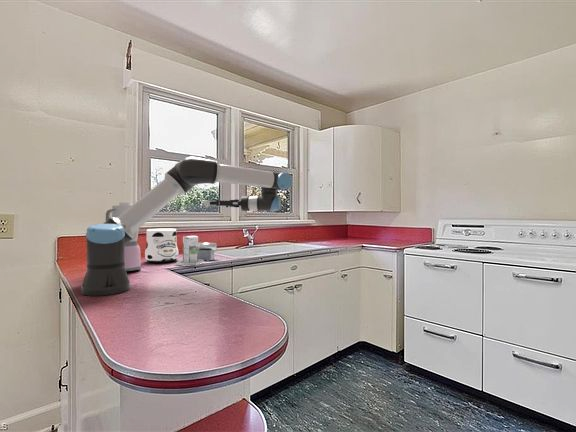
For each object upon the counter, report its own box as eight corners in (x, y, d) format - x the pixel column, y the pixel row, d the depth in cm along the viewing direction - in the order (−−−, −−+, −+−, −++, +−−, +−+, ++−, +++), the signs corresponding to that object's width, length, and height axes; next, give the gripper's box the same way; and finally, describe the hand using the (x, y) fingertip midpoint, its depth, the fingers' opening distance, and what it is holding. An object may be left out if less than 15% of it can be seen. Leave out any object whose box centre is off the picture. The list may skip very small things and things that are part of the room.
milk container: (168, 264, 166) (168, 230, 166) (138, 264, 169) (137, 230, 169) (184, 259, 184) (183, 228, 183) (156, 259, 186) (156, 228, 186)
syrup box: (192, 262, 172) (191, 235, 172) (198, 263, 169) (198, 236, 168) (182, 263, 168) (182, 236, 168) (189, 264, 164) (188, 236, 164)
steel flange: (196, 266, 162) (196, 263, 162) (174, 265, 163) (174, 262, 163) (205, 262, 174) (205, 259, 174) (184, 262, 175) (184, 259, 175)
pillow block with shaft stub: (214, 261, 178) (213, 243, 178) (193, 260, 180) (193, 243, 179) (217, 259, 184) (217, 242, 184) (197, 259, 186) (197, 242, 185)
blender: (129, 268, 157) (129, 203, 156) (146, 270, 151) (146, 202, 150) (98, 273, 143) (97, 202, 142) (115, 276, 137) (114, 202, 136)
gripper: (243, 211, 148) (199, 210, 150) (255, 210, 173) (217, 210, 175) (243, 194, 148) (199, 194, 150) (255, 196, 172) (217, 197, 175)
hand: (208, 203), depth 162 cm, fingers open, 13 cm apart
